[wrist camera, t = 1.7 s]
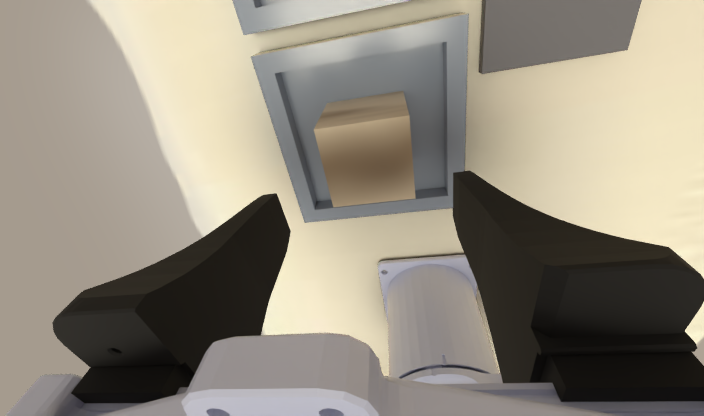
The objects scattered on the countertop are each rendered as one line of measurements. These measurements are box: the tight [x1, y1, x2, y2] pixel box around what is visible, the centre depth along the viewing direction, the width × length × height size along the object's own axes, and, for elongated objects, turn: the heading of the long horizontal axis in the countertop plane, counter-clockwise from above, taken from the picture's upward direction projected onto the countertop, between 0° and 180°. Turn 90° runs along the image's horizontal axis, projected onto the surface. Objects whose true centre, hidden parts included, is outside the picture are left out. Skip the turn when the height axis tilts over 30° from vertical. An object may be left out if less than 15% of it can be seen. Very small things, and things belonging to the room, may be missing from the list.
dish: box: [251, 13, 469, 223], centre depth 19 cm, size 11×11×2 cm
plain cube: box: [314, 91, 416, 207], centre depth 17 cm, size 4×4×4 cm
